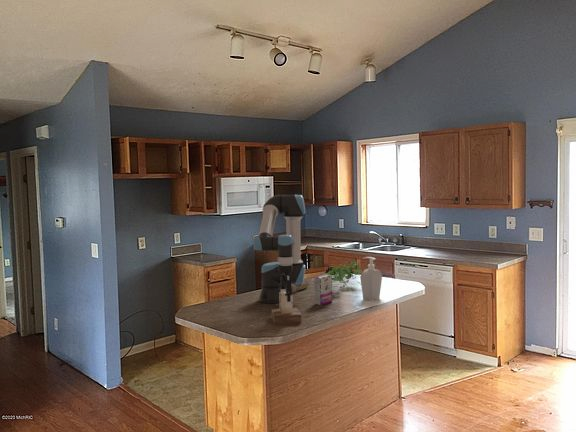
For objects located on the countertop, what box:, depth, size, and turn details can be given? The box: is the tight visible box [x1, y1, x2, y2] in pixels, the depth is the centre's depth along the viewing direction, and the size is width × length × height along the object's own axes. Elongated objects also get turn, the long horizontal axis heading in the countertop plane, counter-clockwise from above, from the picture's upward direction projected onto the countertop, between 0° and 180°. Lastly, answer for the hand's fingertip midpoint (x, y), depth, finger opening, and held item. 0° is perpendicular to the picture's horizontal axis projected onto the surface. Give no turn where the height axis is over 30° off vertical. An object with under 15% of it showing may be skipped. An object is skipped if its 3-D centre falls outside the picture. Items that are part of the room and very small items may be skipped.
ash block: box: [278, 292, 294, 314], centre depth 269 cm, size 6×6×10 cm
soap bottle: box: [359, 256, 383, 301], centre depth 314 cm, size 12×10×26 cm
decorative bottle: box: [291, 278, 309, 294], centre depth 337 cm, size 26×8×7 cm, turn 147°
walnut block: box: [270, 307, 302, 326], centre depth 270 cm, size 14×14×5 cm
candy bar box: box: [314, 274, 333, 306], centre depth 304 cm, size 11×5×16 cm, turn 137°
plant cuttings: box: [325, 260, 361, 293], centre depth 339 cm, size 35×17×22 cm
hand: (285, 304), depth 269 cm, fingers open, 13 cm apart
